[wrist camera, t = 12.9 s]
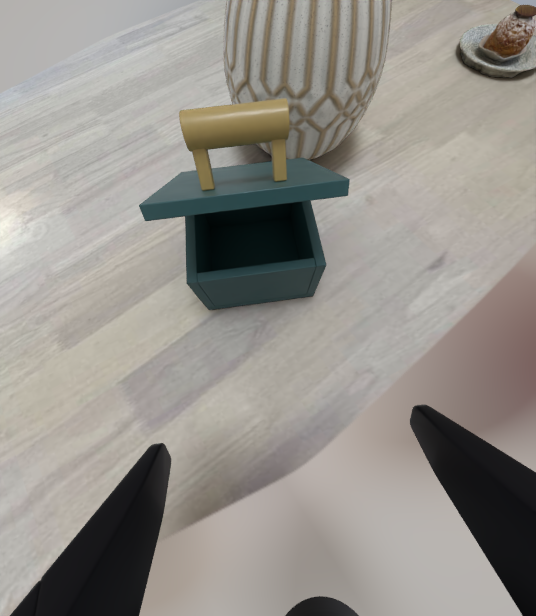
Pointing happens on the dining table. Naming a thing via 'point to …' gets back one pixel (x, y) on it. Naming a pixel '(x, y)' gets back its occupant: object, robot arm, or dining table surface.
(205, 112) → the box lid
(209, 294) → the teal open box
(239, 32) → the vase
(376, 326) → the dining table surface
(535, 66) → the pastry
